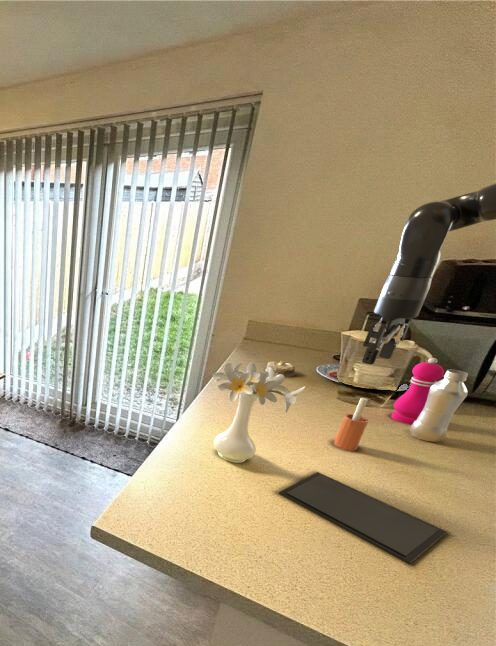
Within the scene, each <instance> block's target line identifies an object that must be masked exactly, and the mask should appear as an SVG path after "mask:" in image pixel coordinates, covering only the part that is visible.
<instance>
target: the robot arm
mask: <svg viewBox="0 0 496 646" xmlns="http://www.w3.org/2000/svg"><path fill="white" fill-rule="evenodd" d="M495 220H496V182H495V183H492V184H490V185H487V186H484V187H483V188H480V189H478V190H475V191H473V192H469V193H465V194H461V195H458V196H454V197H450V198H448V199H444V200H440V201H438V200H437V201H431V202H427V203H424V204H422V205H420V206H418V207H417V208H416V209H414V210H413V211H412V212H411V213H410V215H409V216H408V218H407V220H406V221H405V224H404V227H403V231H402V233H401V238H400V243H399V248H398V252H397V254H396V257H395V259H394V261H393V263H392V266H391V269H390V270H389V271H390V272H389V274H388V276H387V278H386V280H385V282H384V283H383V286H382V288H381V290H380V294H379V296H378V299H377V301H376V304H375V307H374V309H373V313H374V314H375V315H377V316H380V317H381V318H380V319H379V321H378V322H376V321H373V322H372V323H371V324H370V327H369V330H368V332H367V335H366V337H365V339H364V341H363V344H362V347H363V348H364V347H365V348H366V350H365V352H364V355H363V357H362V359H361V363H363V364H367V365H370V366H371V365H374V364H376V361H377V359H378V357H379V358H381V359H385V360H389V359H392V358H393V355H394V353H395V350H396V348H397V345H399V344H400V342H403V341H404V340H405V337H406V335H407V332H408V330H409V328H410V325H411V323H412V319H415V318H417V317H419V315H420V313H421V309H422V307H423V305H424V303H425V300H426V298H427V296H428V293H429V290H430V288H431V285H432V280H433V277H434V275H435V272H436V270H437V268H438V266H439V264H440V260H441V256H442V252H441V249H442V247H443V245H444V243H445V241H446V239H447V236H448V234H449V232H453V231H457V230H460V229H463V228H466V227H467V228H468V227H470V226H473V225H477V224H480V223H483V222H488V221H489V222H491V221H495Z"/></svg>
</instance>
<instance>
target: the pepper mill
mask: <svg viewBox="0 0 496 646" xmlns="http://www.w3.org/2000/svg"><path fill="white" fill-rule="evenodd" d="M437 363H438V359H437V358H435V357H431V358H429V359H428V360H427V362H425V361H424V362H420V363H417V364H416V365H414V367H413V368H412V371H411V372H412V374H413V376H412V377H411V379H410V380H409V382H410V385H411V386H410V388H409V389H407V390H406V391H405V392H404V394H402V395H400V397H398V398H397V399H396V400H395V402H394V403H393V408H394V411H392V414H391V418H392V419H393V420H395V421H397V422H400V423H403V424H406V425H412V424H413V423H414V421H415V420H416V419H417V418H418V416H419V415H420V413H421V412H422V410H423V408H424V406H425V404H426V401H427V398H428V394H429V391H430V387H431V386H432V385H433V384H434V383H436V382H438V381H439V380H441V379H442V378H443V377H444V374H445V369H444V368H443V366H441V365H440V364H437Z"/></svg>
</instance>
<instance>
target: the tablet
mask: <svg viewBox="0 0 496 646" xmlns="http://www.w3.org/2000/svg"><path fill="white" fill-rule="evenodd" d="M278 495H280V496H282V497H284V498H285V499H287V500H288V501H290V502H293V503H295V504H297V505H298V506H300V507H301V508H303V509H306V510H307V511H309V512H311V513H314V514H315V515H317V516H318V517H320V518H322V519H324V520H326V521H328V522H329V523H331V524H332V525H335V526H337V527H339V528H341V529H342V530H344V531H346V532H349V533H351V535H353V536H355V537H357V538H359V539H361V540H363V541H364V542H367V543H368V544H370V545H372V546H374V547H376V548H378V549H380V550H382V551H383V552H385V553H387V554H389V555H391V556H393V557H394V558H396V559H398V560H400V561H402V562H404V563H406V564H407V565H411V564H412V563H413V562H414V561H415V560H417V559H418V558H419V557H420V556H422V554H424V553H425V552H426V551H427V550H429V549H430V548H431V547H432V546H433V545H435V544H436V543H437V542H438V541H440V540H441V538H443V537H444V536H445V535H446V534H447V533H448V531H446V530H444V529H442V528H440V527H438V526H436V525H433V524H431V523H429V522H427V521H425V520H422V519H420V518H418V517H416V516H415V515H412V514H409V513H408V512H405V511H404V510H401V509H399V508H396V507H395V506H393V505H391V504H389V503H386V502H384V501H381V500H380V499H378V498H375V497H373V496H371V495H368V494H366V493H364V492H362V491H360V490H357V489H356V488H353V487H351V486H349V485H347V484H345V483H343V482H340V481H338V480H336V479H334V478H332V477H329V476H327V475H325V474H323V473H321V472H318V471H317V472H315V473H313V474H311V475H309V476H307V477H306V478H303V479H301V480H299V481H298V482H296V483H294V484H292V485H290V486H288V487H285V488H284V489H282V490H281V491H279V492H278Z"/></svg>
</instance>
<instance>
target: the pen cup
mask: <svg viewBox="0 0 496 646" xmlns="http://www.w3.org/2000/svg"><path fill="white" fill-rule="evenodd" d="M353 416H354V413H345V414H344V416H343V418H342V420H341V424H340V426H339V428H338V431H337V434H336V436H335V437H334V438H335V439H334V441H333V444H334V446H335V447H338V448H339V449H341V450H345V451H350V452H351V451H353V452H354V451H357V450H358V447H359V445H360V442H361V440H362V438H363V435H364V433H365V431H366V429H367V426H368V424H369V419H368V418H366V417H365V416H362V415H361V418H360V420H359V421H356V420H352V418H353Z"/></svg>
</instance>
